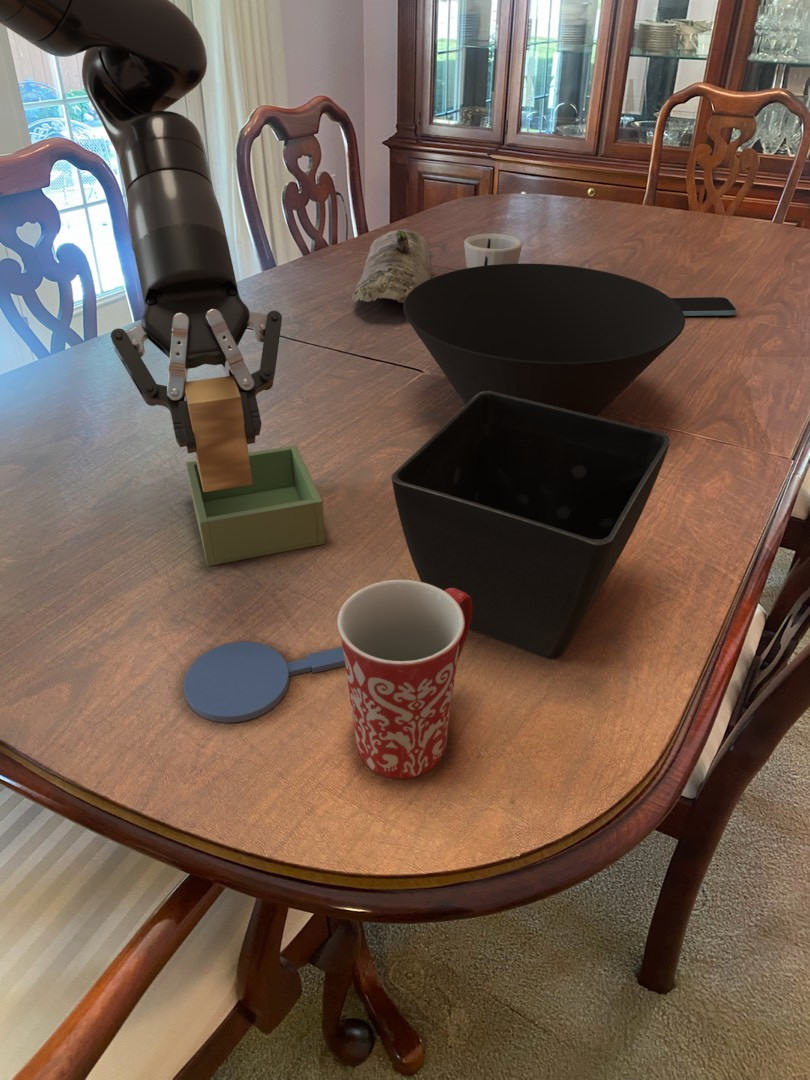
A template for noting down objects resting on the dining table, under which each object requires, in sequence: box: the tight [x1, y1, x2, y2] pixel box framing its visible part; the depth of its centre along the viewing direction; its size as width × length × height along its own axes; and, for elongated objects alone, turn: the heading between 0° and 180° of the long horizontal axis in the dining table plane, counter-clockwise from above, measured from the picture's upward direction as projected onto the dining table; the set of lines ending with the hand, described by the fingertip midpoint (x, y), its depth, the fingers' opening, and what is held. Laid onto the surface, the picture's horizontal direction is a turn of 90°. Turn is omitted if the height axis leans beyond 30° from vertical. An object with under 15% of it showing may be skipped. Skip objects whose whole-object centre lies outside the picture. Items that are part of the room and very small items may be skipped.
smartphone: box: [670, 296, 738, 317], centre depth 145 cm, size 7×1×15 cm
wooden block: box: [184, 375, 252, 492], centre depth 66 cm, size 4×4×8 cm
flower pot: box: [391, 391, 672, 660], centre depth 75 cm, size 19×19×17 cm
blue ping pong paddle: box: [183, 641, 345, 724], centre depth 72 cm, size 18×9×1 cm, turn 109°
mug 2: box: [463, 233, 523, 268], centre depth 150 cm, size 10×15×10 cm
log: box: [351, 228, 433, 304], centre depth 148 cm, size 14×12×30 cm
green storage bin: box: [185, 444, 326, 567], centre depth 89 cm, size 13×13×6 cm
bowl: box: [403, 262, 686, 417], centre depth 109 cm, size 36×36×15 cm
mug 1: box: [336, 579, 472, 779], centre depth 63 cm, size 13×9×14 cm
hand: (221, 444), depth 64 cm, fingers closed on wooden block, 4 cm apart
